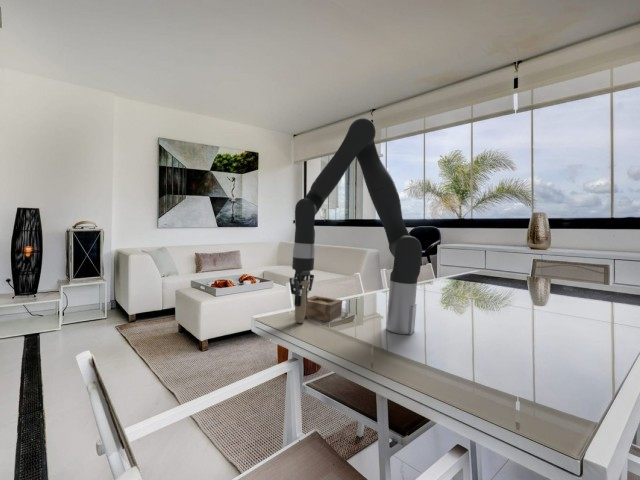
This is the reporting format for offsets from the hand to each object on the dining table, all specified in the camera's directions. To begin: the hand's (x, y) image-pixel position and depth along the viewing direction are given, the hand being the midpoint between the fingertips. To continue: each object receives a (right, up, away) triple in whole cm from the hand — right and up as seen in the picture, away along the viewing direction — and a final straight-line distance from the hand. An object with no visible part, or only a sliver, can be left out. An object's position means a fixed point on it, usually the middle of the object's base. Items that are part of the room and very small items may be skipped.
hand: (300, 304), depth 117 cm
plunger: (+8, -3, +12) cm, 14 cm away
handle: (0, -6, 0) cm, 6 cm away
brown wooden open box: (+7, -7, +12) cm, 16 cm away
